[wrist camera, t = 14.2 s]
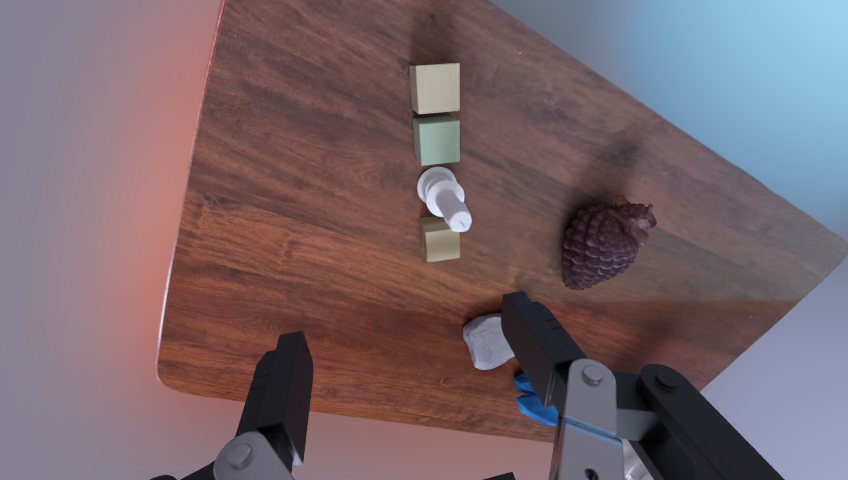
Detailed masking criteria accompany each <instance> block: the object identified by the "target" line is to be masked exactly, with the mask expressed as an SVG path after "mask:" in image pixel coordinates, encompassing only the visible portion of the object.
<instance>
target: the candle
mask: <svg viewBox="0 0 848 480" xmlns="http://www.w3.org/2000/svg"><path fill="white" fill-rule="evenodd" d="M417 191H418V195H419V197H420V198H421V199H422V201H424V202H425V203H426V204H427V207H428V209H429V210H430V212H431V213H433V214H434V215H436V216H439V217H444V219H445V222H446V223H447V224H448V225H449V227H450V229H451V230H452V231H455V232H463V231H467V230H468V229H469V227H470V225H471V222H472V218H471V215H470V212H469V211H468V209H467V208H466V205H465V203H463V202H464V191H463V189H462V187H461V186H460V185H459V184H458V183H457V181H456V178H455V176H454V174H453V173H452V172H451V171H450V170H448V169H447V168H444V167H433V168H430V169H428V170H427V171H425V172H424V173H423V174H422V175H421V177H420V179H419V181H418V185H417Z"/></svg>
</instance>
